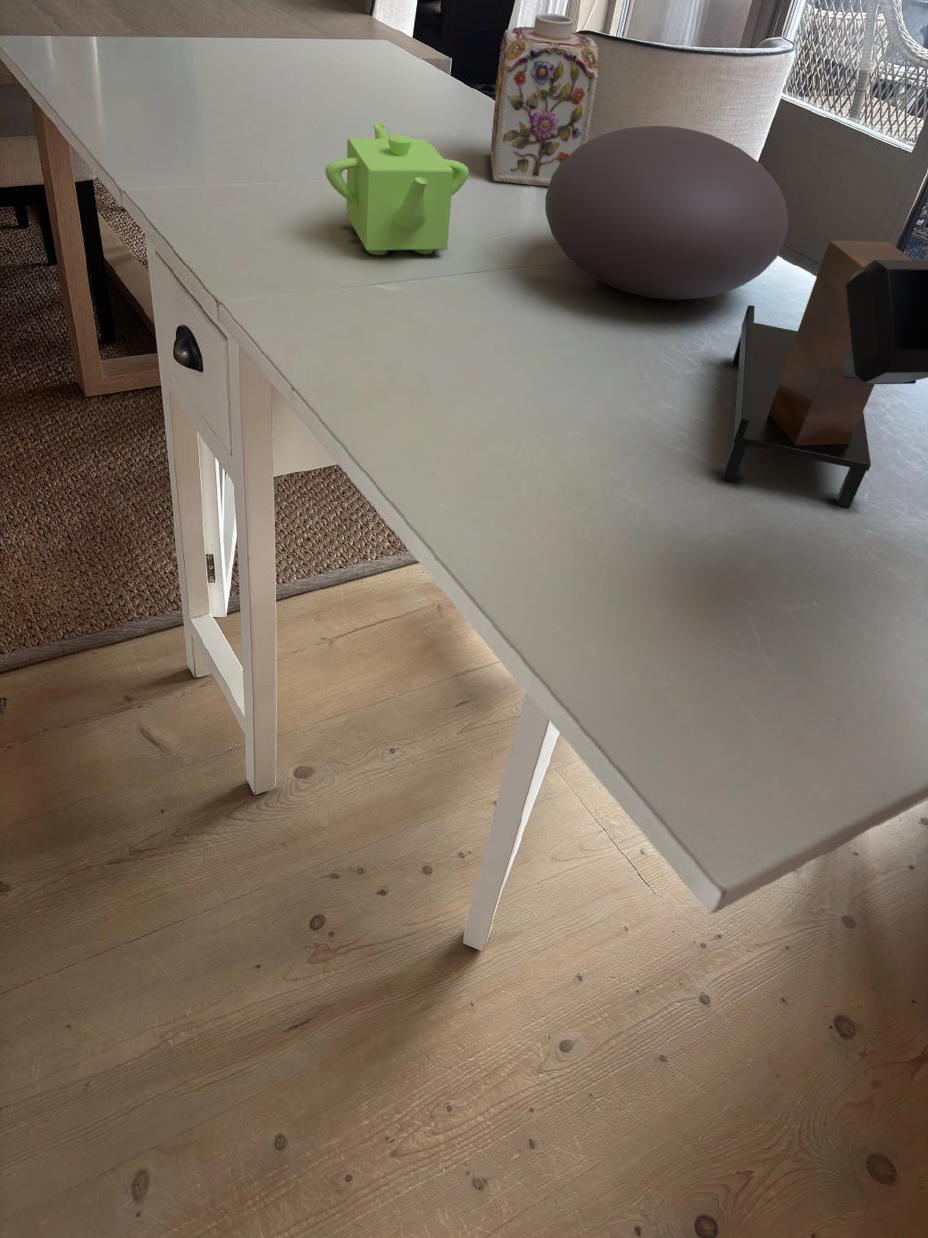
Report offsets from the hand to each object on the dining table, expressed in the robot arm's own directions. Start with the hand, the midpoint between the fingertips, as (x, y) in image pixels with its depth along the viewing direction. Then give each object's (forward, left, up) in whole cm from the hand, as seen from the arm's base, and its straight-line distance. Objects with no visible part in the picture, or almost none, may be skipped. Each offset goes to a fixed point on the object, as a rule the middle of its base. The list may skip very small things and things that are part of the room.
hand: (907, 368), depth 61 cm
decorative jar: (+37, -71, -13) cm, 81 cm away
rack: (+4, -14, -13) cm, 19 cm away
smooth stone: (+18, -40, -13) cm, 46 cm away
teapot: (+46, -38, -13) cm, 61 cm away
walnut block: (+3, -7, -9) cm, 12 cm away
